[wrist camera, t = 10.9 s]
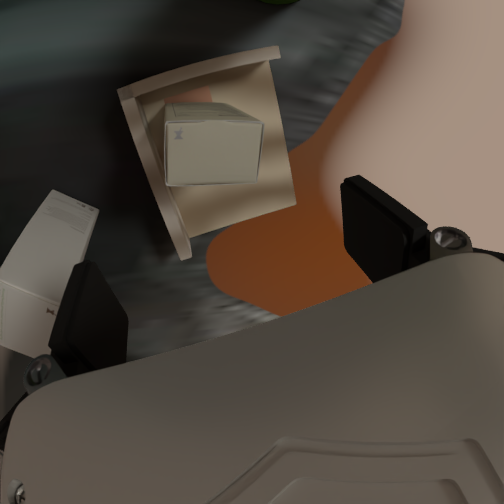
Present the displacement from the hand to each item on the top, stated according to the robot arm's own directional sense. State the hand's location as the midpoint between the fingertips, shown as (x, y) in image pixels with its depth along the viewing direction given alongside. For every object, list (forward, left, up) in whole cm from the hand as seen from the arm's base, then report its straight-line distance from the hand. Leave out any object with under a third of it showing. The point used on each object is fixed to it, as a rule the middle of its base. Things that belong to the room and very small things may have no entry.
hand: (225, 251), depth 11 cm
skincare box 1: (-5, +17, -23) cm, 29 cm away
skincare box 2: (+1, -1, -22) cm, 22 cm away
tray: (-2, -2, -22) cm, 23 cm away
